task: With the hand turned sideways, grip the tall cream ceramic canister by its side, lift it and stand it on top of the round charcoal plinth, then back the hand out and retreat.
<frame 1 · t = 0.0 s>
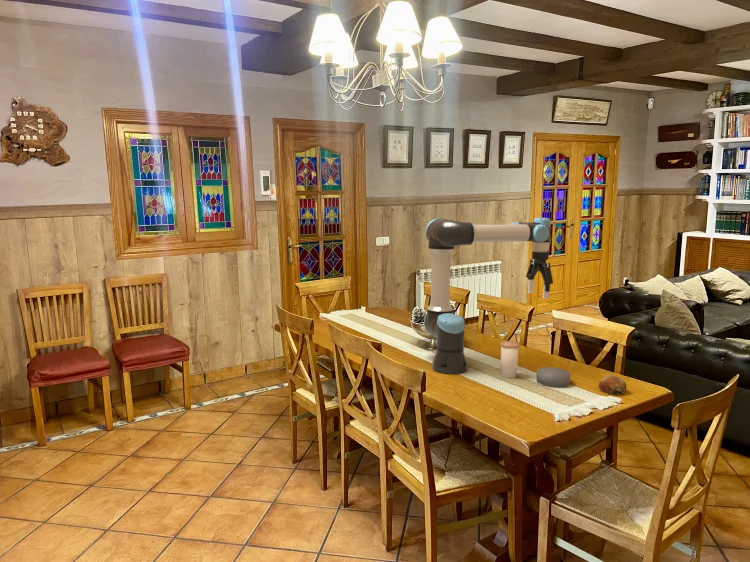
hand: (538, 295, 262), 28 cm above the table, tool pointing down, fingers open, 13 cm apart
bread roll: (612, 391, 216), on the table
plinth: (552, 381, 226), on the table
canister: (508, 375, 233), on the table
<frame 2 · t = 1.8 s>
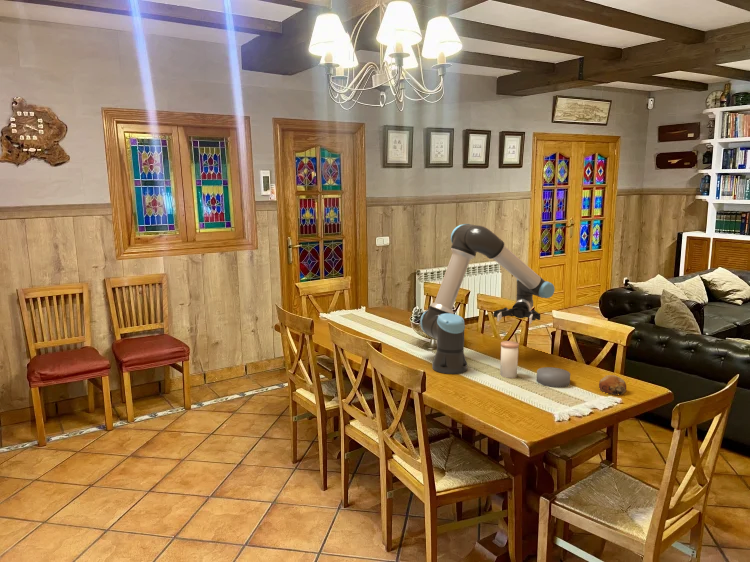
hand: (513, 319, 239), 22 cm above the table, tool horizontal, fingers open, 13 cm apart
nothing on the table moved.
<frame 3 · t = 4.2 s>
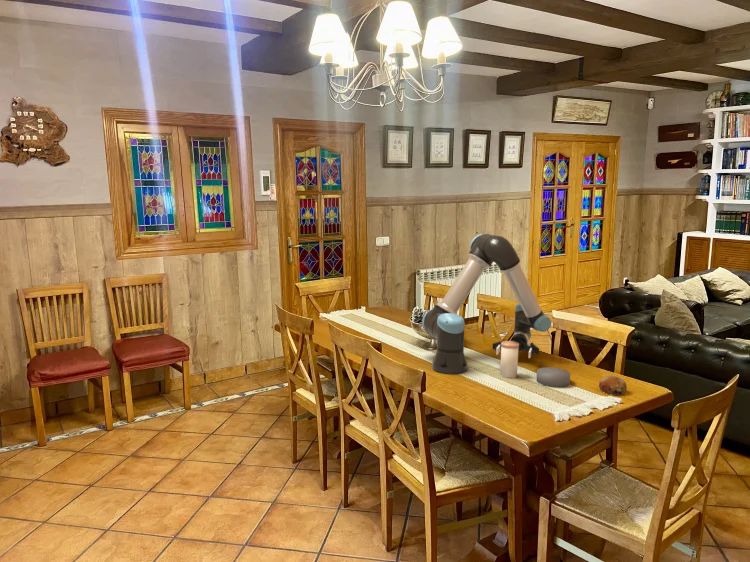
hand: (513, 353, 238), 8 cm above the table, tool horizontal, fingers open, 13 cm apart
nothing on the table moved.
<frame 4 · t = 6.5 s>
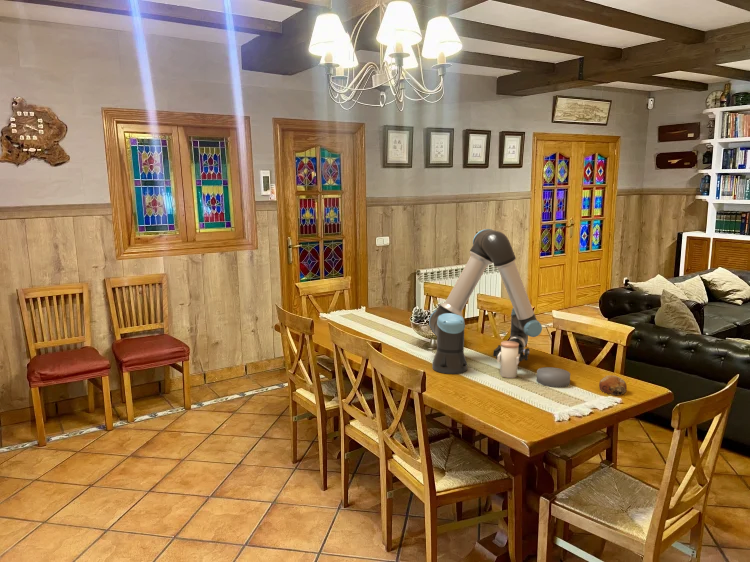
hand: (507, 360, 228), 8 cm above the table, tool horizontal, fingers closed on canister, 7 cm apart
canister: (508, 375, 233), on the table, touching gripper
everything else where it was.
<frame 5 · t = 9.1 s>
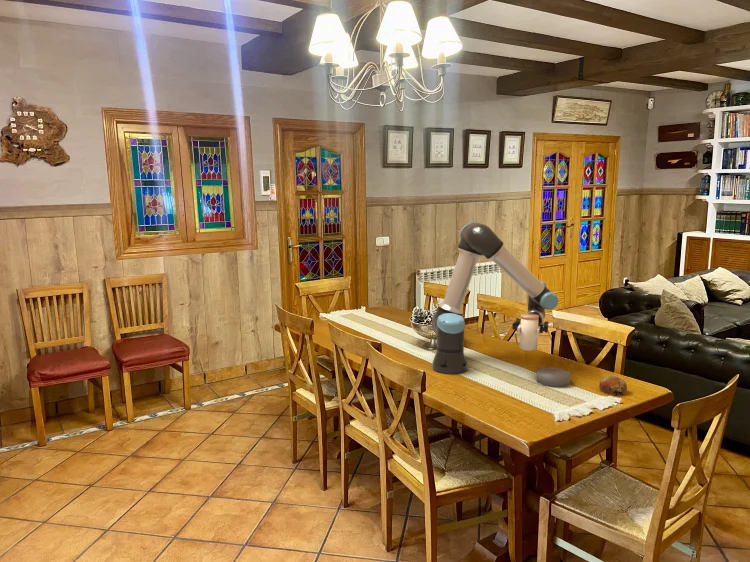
hand: (527, 332, 223), 21 cm above the table, tool horizontal, fingers closed on canister, 7 cm apart
canister: (528, 348, 229), point 13 cm above the table, touching gripper
everything else where it was.
when the fingers open (13 cm above the table, at t = 11.5 s): canister drops 1 cm, resting on plinth.
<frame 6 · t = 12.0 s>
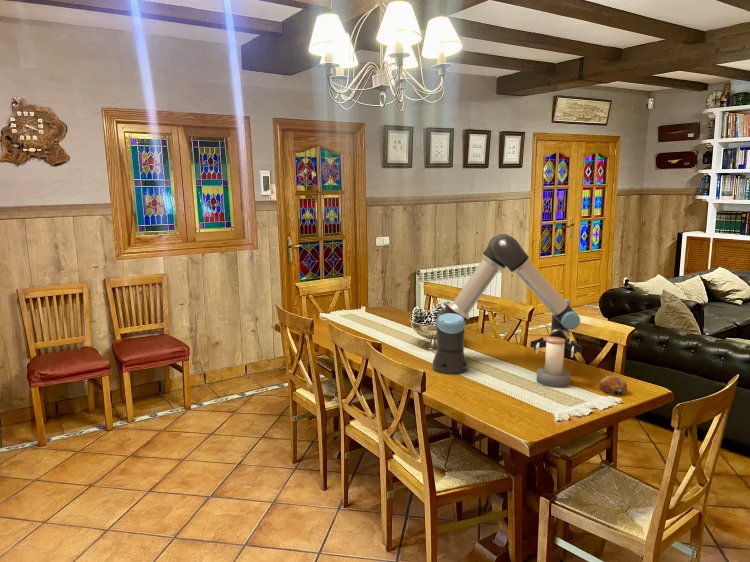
hand: (554, 352, 221), 13 cm above the table, tool horizontal, fingers open, 13 cm apart
canister: (553, 372, 225), point 4 cm above the table, touching plinth
everything else where it was.
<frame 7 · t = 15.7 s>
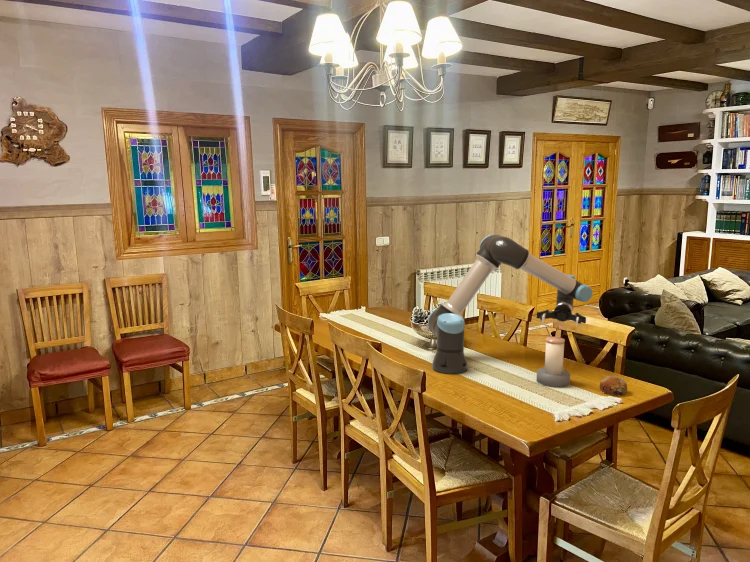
hand: (559, 321, 231), 23 cm above the table, tool horizontal, fingers open, 13 cm apart
nothing on the table moved.
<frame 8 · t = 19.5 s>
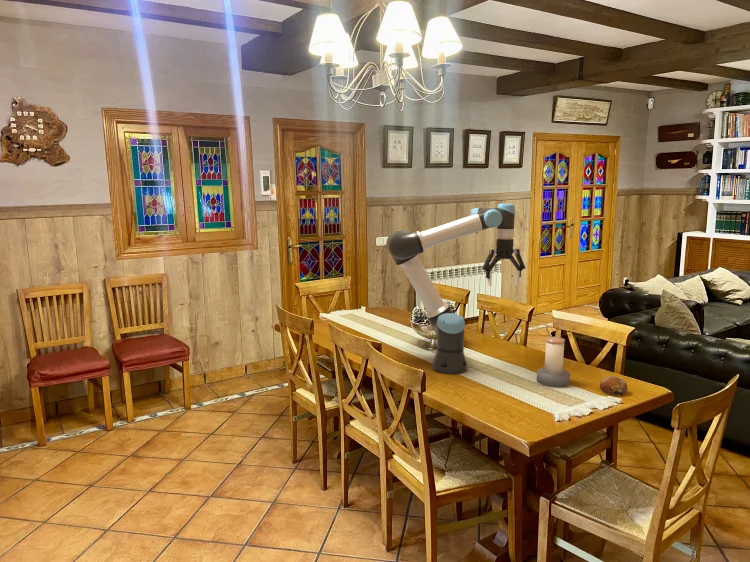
hand: (503, 285, 251), 35 cm above the table, tool pointing down, fingers open, 13 cm apart
at the end: canister inside the target area on the plinth (0.1 cm from its centre), point 4.0 cm above the plinth's base; canister tilted 0°; the gripper is holding nothing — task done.
